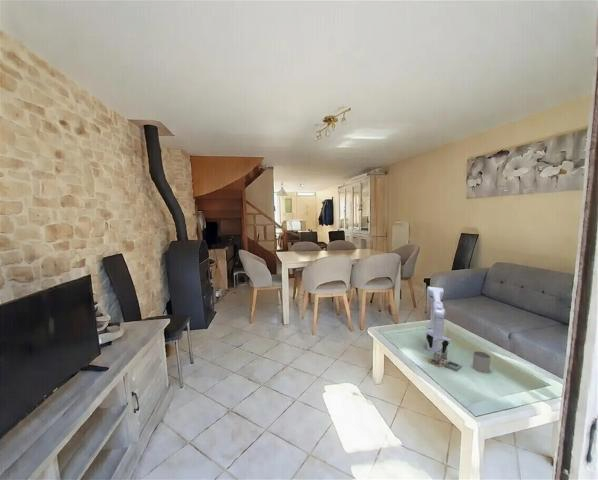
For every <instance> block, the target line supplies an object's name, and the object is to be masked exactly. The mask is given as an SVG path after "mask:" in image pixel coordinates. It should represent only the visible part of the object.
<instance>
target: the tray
mask: <svg viewBox="0 0 598 480" xmlns="http://www.w3.org/2000/svg"><path fill="white" fill-rule="evenodd" d="M433 358H434V357H432V358H431V359H429V360H427V363H429V364H430V365H433V366H435V367H438V368H441V367H442V366H444V364H445V363H446V362H448V361H447V360H444V359H442V358H440V362H439V365H438V364H435V363H433Z"/></svg>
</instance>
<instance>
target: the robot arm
mask: <svg viewBox="0 0 598 480" xmlns="http://www.w3.org/2000/svg"><path fill="white" fill-rule="evenodd" d="M444 293H445V291H444V288H443V287H435V286H427V287H426V297H427V299H428V300H429V301H430V315H429V316H430V323H428V324H426V326H425V332H424V333H425V338H426V350H427V351H429V352H431V353H438V352H439V351H441V349H442V353H445V350H446V349H447V347H448V346H449V344H451V343H452V339H451V338H448V337H447V336H445V335H444V331H445V330H444V329H445V320H446V317H447V312H446V309H445V308H444V304H443V302H442V301H441V300H442V299H443V297H444ZM441 347H442V348H441Z"/></svg>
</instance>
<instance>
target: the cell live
mask: <svg viewBox="0 0 598 480" xmlns="http://www.w3.org/2000/svg"><path fill="white" fill-rule="evenodd" d="M432 358H433V361H432V362H433V363H435V364H438V365H440V362H441V360H440V359H441V353H438V352H433V357H432Z"/></svg>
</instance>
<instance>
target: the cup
mask: <svg viewBox="0 0 598 480" xmlns="http://www.w3.org/2000/svg"><path fill="white" fill-rule="evenodd" d="M472 354H473V355H472V369H474V370H475V371H476V372H479V373H482V374H488V373H490V368H491V367H490V366H491V355H489V354H488V353H486V352H484V351H479V350H476V351H473V353H472Z"/></svg>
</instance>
